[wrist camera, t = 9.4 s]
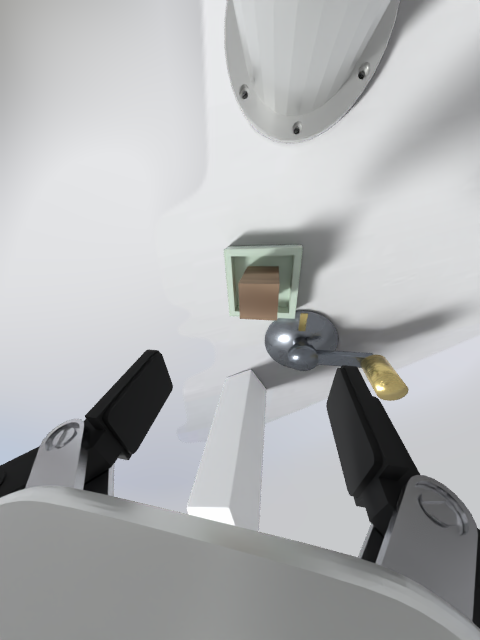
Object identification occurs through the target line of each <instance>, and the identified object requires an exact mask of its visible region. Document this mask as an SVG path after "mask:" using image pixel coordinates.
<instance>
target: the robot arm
mask: <svg viewBox="0 0 480 640" xmlns="http://www.w3.org/2000/svg"><path fill="white" fill-rule="evenodd" d="M399 3H400V0H227V3H226V12H225V54H226V63H227V70H228V74H229V78H230V82H231V86H232V89H233V92H234V95H235V98H236V100H237V103H238V105H239V107H240V109H241V111H242V112H243V114H244V116H245V117H246V119H247V120H248V121H249V123H250V124H251V125H252V127H253V128H255V129H256V130H257V131H258V132H259V133H260V134H262V135H263V136H265V137H267V138H269V139H271V140H273V141H276V142H281V143H286V144H287V143H300V142H303V141H306V140H310V139H313V138H314V137H316V136H318V135H320V134H322V133H324V132H325V131H327V130H328V129H329V128H330V127H332V126H333V125H334V124H335V123H337V122H338V121H339V120H340V119H341V118H342V117H343V116H344V115H345V114H346V113H347V111H348V110H349V109H350V108H351V107H352V106H353V104H354V103H355V102H356V100H357V99H358V98H359V96H360V95H361V94H362V92H363V91H364V89H365V88H366V86H367V84H368V83H369V81H370V80H371V78H372V77H373V75H374V73H375V71H376V69H377V67H378V65H379V62H380V60H381V58H382V56H383V54H384V52H385V50H386V47H387V44H388V41H389V39H390V36H391V33H392V30H393V27H394V24H395V21H396V16H397V12H398V7H399ZM359 74H362V75H363V79H359V77H358V75H359ZM244 94H248V97H247V98H246V99H243V96H244ZM296 128H298V129H299V133H298V134H295V133H294V130H295V129H296ZM172 388H173V385H172V382H171V379H170V376H169V373H168V370H167V367H166V365H165V362H164V359H163V356H162V354H161V353H160V352H159V351H157V350H146V351H145V352H144V353H143V355H141V357H140V358H139V359H138V360H137V361H136V362H135V363H134V364H133V365H132V366H131V367H130V368H129V369H128V370H127V372H126V373H125V374H124V375H123V376H122V377H121V378H120V379H119V380H118V381H117V382H116V383H115V384H114V385H113V386H112V388H111V389H110V390H109V391H108V392H107V393H106V394H105V395H104V396H103V397H102V398H101V399H100V401H98V403H97V404H96V405H95V406H94V407H93V408H92V409H91V410H90V411H89V412H88V413H87V414H86V415H85V417H86V420H85V421H84V422H83V421H82V420H81V419H72V420H69V421H66V422H64V423H62V424H60V425H59V426H57V427H56V428H54V429H53V430H52V431H51V432H50V433H49V434H48V435H47V436H46V437H45V438H44V439H43V441H42V443H41V445H40V446H39V447H37V448H35V449H33V450H31V451H29V452H28V453H25V454H23V455H21V456H19V457H17V458H15V459H13V460H11V461H9V462H7V463H5V464H3V465H1V466H0V640H480V530H479V529H478V528H477V526H476V523H475V521H474V519H473V517H472V514H471V513H470V511H469V510H468V509H467V507H466V506H465V504H464V503H463V502H462V501H461V500H460V499H459V498H458V497H457V496H456V495H455V493H453V492H452V491H451V490H450V489H448V488H447V487H446V486H445V485H443V484H442V483H440V482H438V481H436V480H435V479H432V478H430V477H427V476H424V475H420V473H419V472H418V470H417V468H416V466H415V464H414V463H413V461H412V459H411V457H410V455H409V453H408V451H407V450H406V448H405V446H404V444H403V442H402V440H401V439H400V437H399V435H398V433H397V431H396V429H395V428H394V426H393V424H392V422H391V420H390V419H389V417H388V415H387V413H386V411H385V409H384V408H383V406H382V404H381V402H380V401H379V399H378V398H376V397H373V396H372V395H371V393H370V391H369V389H368V387H367V385H366V383H365V381H364V379H363V377H362V375H361V373H360V372H359V370H358V368H357V367H356V366H348V365H342V366H341V368H337V370H336V374H335V377H334V380H333V384H332V387H331V390H330V394H329V397H328V400H327V411H328V415H329V419H330V423H331V427H332V431H333V435H334V439H335V443H336V447H337V450H338V454H339V458H340V462H341V466H342V470H343V474H344V478H345V482H346V486H347V490H348V492H349V494H350V495H351V496H354V500H355V503H356V506H360V507H365V508H366V511H367V514H368V517H369V521H370V522H371V525H370V528H369V531H368V533H367V536H366V538H365V541H364V543H363V546H362V549H361V551H360V553H359V556H358V558H357V557H354V556H351V555H347V554H343V553H339V552H336V551H332V550H328V549H324V548H320V547H317V546H313V545H310V544H306V543H302V542H298V541H294V540H290V539H286V538H282V537H278V536H274V535H270V534H266V533H262V532H258V531H254V530H250V529H246V528H242V527H238V526H234V525H230V524H225V523H221V522H217V521H213V520H209V519H205V518H201V517H197V516H193V515H188V514H184V513H180V512H176V511H171V510H168V509H164V508H160V507H155V506H151V505H147V504H143V503H138V502H134V501H130V500H126V499H121V498H117V497H114V463H115V461H116V460H117V458H120V459H125V460H129V459H130V457H131V455H132V454H134V453H135V452H136V451H137V449H138V448H139V446H140V444H141V443H142V441H143V439H144V438H145V436H146V434H147V432H148V431H149V429H150V427H151V425H152V424H153V422H154V420H155V419H156V417H157V415H158V413H159V412H160V410H161V408H162V406H163V405H164V403H165V401H166V400H167V398H168V396H169V394H170V393H171V391H172Z"/></svg>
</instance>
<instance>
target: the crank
mask: <svg viewBox="0 0 480 640" xmlns="http://www.w3.org/2000/svg"><path fill="white" fill-rule="evenodd" d="M288 361H289V364H290V365H291V367H293V368H294V369H296V370H300V371H306V370H310V369H312V368H314V367H315V366H316V365H317V364H321V365H333V366H342V365H348V366H356V367H359V368H362V369H363V371H364V373H365V374H366V376H367V378H368V380H369V382H370V383H371V385H372V387H373V389H374V390H375V392H376V394H377V396H378V397H379V398H381V399H383V400H390V401H391V400H398V399H400V398H402V397H404V396H405V395H406V394H407V393H408V387H407V386H406V385H405V383H404V382H403V381H402V379H401V378H400V377H399V375H398V374H397V373H396V371H395V370H394V369H393V367H392V366H391V365H390V364H389V362H388V361H387V360H386V358H385V357H383V356H381V355H373V354H372V353H360V352H344V351H329V350H316V349H315V348H314V346H312V345H311V344H308V343H297V344H294V345H293V346H291V347H290V348H289V350H288Z"/></svg>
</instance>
